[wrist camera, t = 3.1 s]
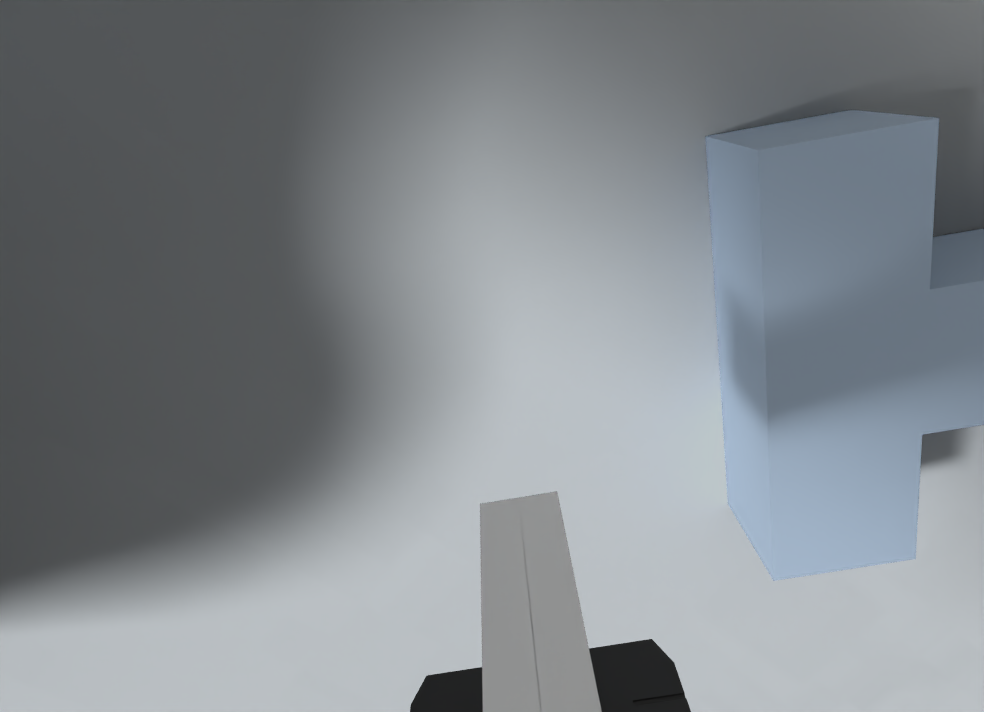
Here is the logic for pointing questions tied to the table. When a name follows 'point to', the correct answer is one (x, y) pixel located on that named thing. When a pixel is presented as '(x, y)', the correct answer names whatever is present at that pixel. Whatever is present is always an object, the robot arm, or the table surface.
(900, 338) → the t block
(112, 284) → the table surface
